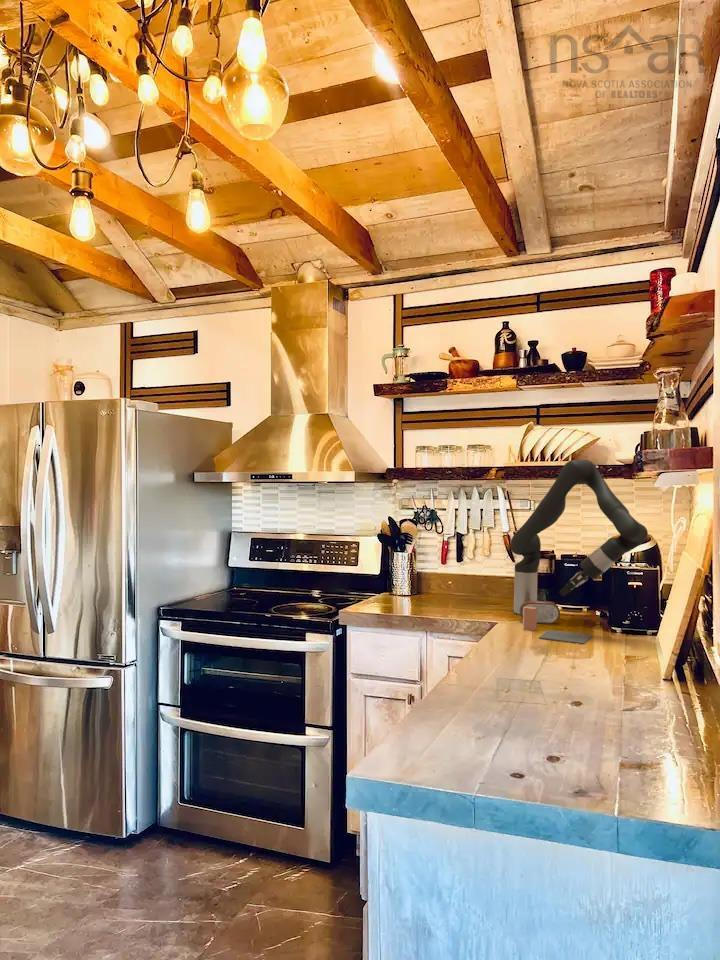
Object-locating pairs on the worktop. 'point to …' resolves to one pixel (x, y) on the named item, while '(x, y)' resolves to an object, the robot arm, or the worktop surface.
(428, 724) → the worktop surface
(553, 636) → the mat
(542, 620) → the tin
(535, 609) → the block
